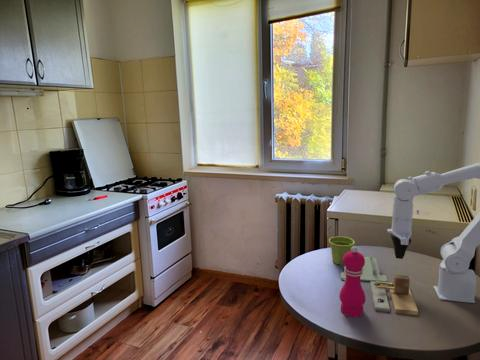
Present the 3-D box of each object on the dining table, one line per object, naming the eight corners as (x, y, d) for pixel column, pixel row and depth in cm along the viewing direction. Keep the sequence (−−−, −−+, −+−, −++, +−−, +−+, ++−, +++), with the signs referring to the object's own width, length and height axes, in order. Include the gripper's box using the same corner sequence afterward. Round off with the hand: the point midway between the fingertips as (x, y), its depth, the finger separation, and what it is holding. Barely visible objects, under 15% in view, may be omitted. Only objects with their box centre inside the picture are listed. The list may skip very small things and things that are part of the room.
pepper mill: (365, 319, 98) (368, 253, 94) (339, 316, 100) (340, 250, 96) (364, 306, 104) (366, 243, 100) (339, 303, 106) (340, 241, 102)
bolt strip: (382, 285, 116) (383, 282, 116) (389, 311, 101) (389, 308, 101) (370, 284, 117) (370, 281, 117) (374, 310, 102) (375, 306, 102)
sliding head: (407, 290, 110) (408, 275, 109) (408, 294, 107) (409, 279, 106) (376, 287, 112) (377, 272, 111) (377, 291, 110) (378, 276, 109)
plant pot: (358, 265, 131) (359, 243, 129) (335, 268, 129) (336, 246, 127) (345, 255, 140) (346, 235, 138) (324, 258, 138) (324, 237, 136)
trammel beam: (407, 287, 114) (407, 282, 114) (418, 315, 99) (418, 308, 99) (374, 284, 117) (375, 278, 116) (380, 310, 102) (380, 304, 101)
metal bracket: (339, 250, 131) (381, 252, 128) (338, 262, 134) (379, 264, 131) (341, 277, 119) (388, 280, 116) (340, 289, 121) (386, 293, 118)
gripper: (385, 210, 118) (383, 248, 120) (391, 223, 104) (388, 266, 107) (408, 211, 116) (405, 249, 119) (417, 225, 102) (414, 268, 105)
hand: (399, 257), depth 112 cm, fingers closed
